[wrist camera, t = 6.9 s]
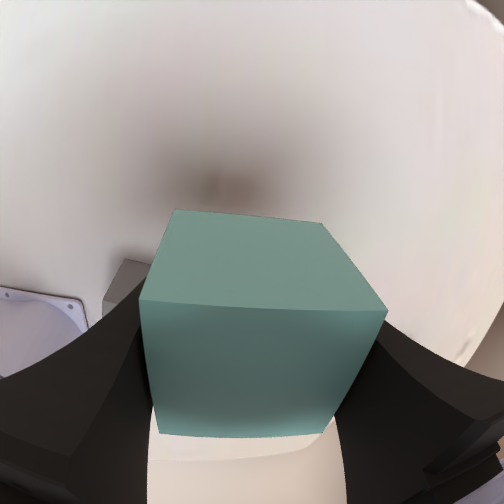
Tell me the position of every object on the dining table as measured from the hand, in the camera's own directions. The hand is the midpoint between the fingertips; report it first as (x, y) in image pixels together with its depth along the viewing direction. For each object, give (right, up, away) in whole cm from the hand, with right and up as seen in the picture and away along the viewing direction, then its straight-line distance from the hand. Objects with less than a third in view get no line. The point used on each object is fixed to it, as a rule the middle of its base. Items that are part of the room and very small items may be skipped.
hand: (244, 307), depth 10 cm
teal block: (0, +1, +1) cm, 2 cm away
